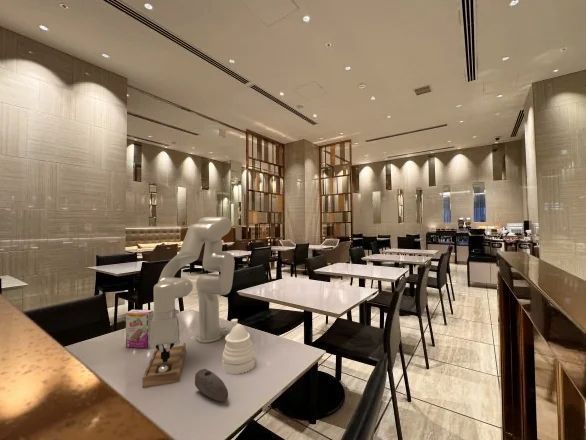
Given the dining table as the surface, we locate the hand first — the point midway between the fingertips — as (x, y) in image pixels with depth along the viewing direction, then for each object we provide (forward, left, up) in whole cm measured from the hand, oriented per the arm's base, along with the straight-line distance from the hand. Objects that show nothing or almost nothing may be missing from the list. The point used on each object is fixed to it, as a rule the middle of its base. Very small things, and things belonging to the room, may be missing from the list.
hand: (165, 360), depth 109 cm
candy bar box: (+15, -25, -4) cm, 29 cm away
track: (0, -2, -4) cm, 4 cm away
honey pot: (-28, +5, -4) cm, 29 cm away
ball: (0, +5, -2) cm, 5 cm away
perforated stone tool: (-18, +22, -4) cm, 29 cm away
